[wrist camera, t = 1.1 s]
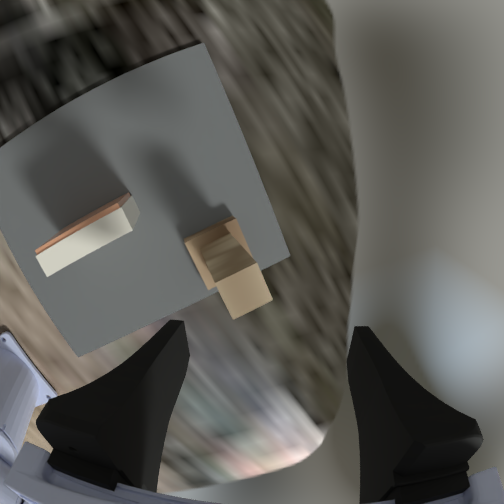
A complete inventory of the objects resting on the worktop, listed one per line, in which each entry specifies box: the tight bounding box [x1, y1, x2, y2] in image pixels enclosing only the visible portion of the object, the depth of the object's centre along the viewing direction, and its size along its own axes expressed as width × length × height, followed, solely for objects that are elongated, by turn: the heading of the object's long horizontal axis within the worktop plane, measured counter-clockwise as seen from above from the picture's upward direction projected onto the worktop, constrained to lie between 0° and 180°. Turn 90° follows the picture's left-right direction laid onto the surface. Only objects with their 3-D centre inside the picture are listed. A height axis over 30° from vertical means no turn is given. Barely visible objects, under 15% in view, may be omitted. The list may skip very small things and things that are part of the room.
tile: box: [35, 192, 140, 277], centre depth 19 cm, size 6×2×6 cm, turn 112°
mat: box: [0, 43, 290, 357], centre depth 22 cm, size 20×18×1 cm
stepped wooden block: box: [184, 216, 273, 320], centre depth 21 cm, size 4×4×8 cm
